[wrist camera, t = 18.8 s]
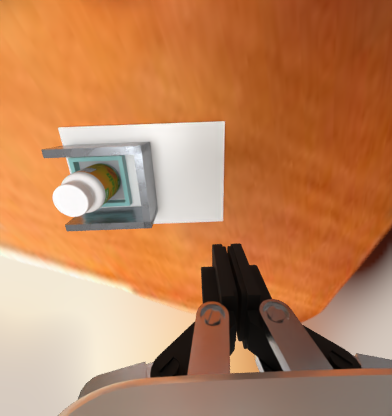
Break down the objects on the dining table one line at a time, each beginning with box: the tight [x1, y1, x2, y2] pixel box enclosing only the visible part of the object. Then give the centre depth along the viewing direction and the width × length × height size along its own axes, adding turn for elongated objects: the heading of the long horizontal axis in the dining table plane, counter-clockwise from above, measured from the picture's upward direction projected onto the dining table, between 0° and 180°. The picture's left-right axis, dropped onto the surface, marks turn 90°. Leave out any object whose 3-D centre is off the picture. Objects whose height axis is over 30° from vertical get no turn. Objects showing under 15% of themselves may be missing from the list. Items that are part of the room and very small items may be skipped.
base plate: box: [58, 121, 225, 224], centre depth 32 cm, size 24×16×3 cm, turn 92°
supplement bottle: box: [53, 163, 121, 217], centre depth 28 cm, size 5×5×10 cm
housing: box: [42, 142, 158, 231], centre depth 30 cm, size 12×11×6 cm
